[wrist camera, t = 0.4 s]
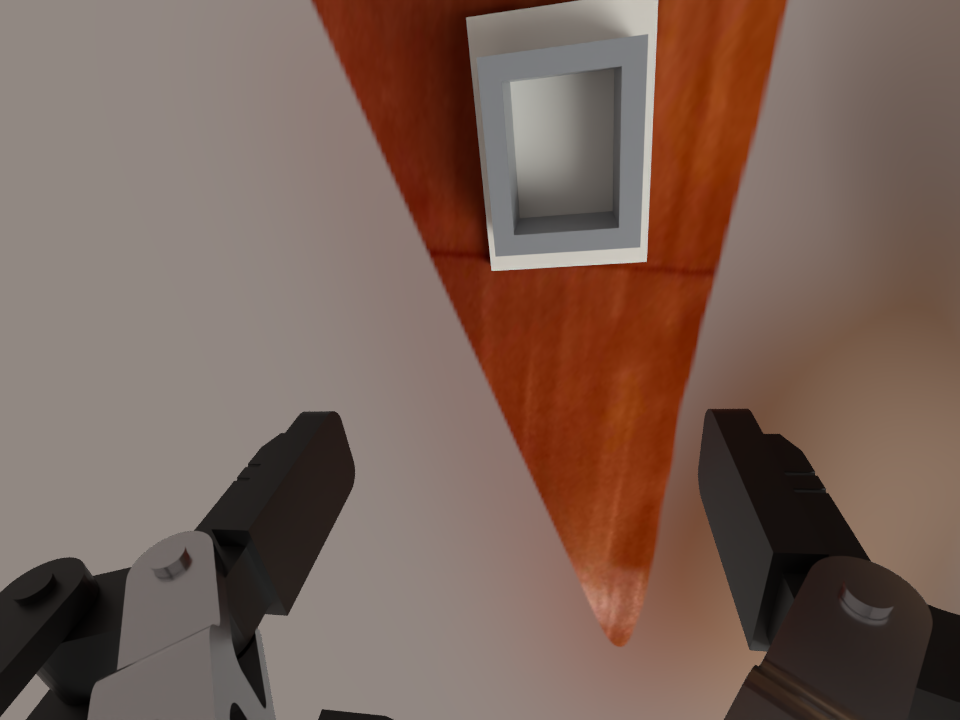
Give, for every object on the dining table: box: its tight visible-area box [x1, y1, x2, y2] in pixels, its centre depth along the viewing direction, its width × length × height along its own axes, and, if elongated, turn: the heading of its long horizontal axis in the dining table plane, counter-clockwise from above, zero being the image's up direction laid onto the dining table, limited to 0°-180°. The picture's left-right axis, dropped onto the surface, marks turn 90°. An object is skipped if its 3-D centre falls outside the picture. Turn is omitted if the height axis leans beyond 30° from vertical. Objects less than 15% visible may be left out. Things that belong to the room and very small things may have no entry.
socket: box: [466, 0, 658, 271], centre depth 30 cm, size 15×10×6 cm
